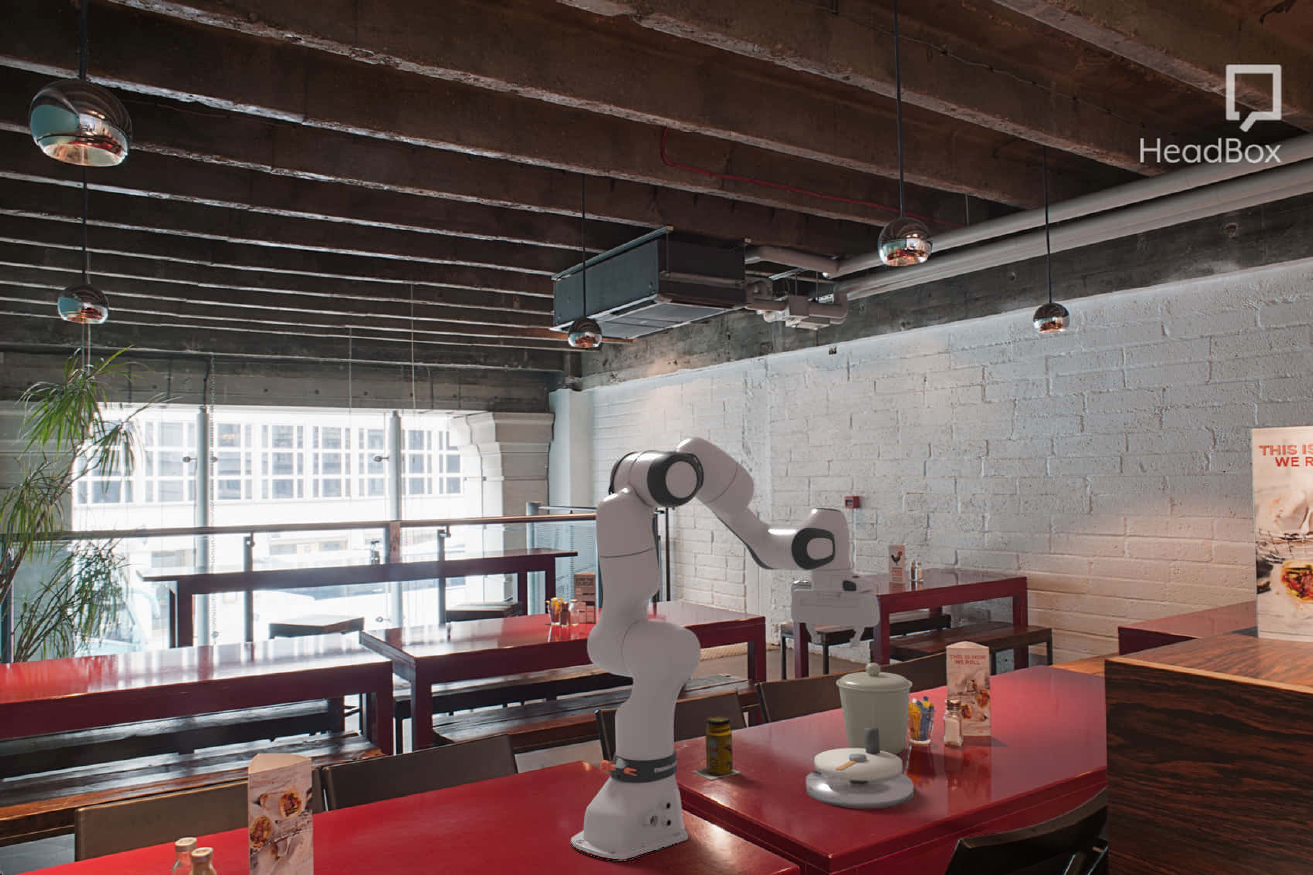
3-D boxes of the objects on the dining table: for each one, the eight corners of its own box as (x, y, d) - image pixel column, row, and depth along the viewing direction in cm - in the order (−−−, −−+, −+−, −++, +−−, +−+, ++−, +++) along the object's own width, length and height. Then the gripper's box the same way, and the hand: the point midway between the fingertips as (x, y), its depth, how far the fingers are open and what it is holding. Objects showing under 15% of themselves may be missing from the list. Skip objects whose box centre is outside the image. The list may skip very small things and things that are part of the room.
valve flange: (885, 816, 169) (883, 792, 169) (786, 794, 183) (785, 773, 183) (930, 786, 186) (929, 765, 186) (837, 768, 200) (836, 748, 200)
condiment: (740, 773, 198) (739, 719, 199) (711, 780, 194) (709, 725, 195) (721, 765, 205) (719, 713, 205) (691, 772, 200) (690, 718, 201)
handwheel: (878, 786, 172) (877, 752, 172) (798, 770, 183) (797, 738, 184) (916, 763, 186) (915, 732, 186) (840, 750, 197) (839, 721, 198)
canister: (876, 766, 200) (872, 673, 202) (823, 749, 216) (819, 662, 217) (931, 753, 210) (927, 663, 211) (877, 737, 225) (873, 654, 227)
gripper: (783, 581, 197) (787, 643, 196) (867, 584, 184) (872, 651, 183) (797, 578, 202) (801, 638, 201) (880, 581, 189) (885, 645, 188)
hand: (835, 644), depth 192 cm, fingers open, 8 cm apart
